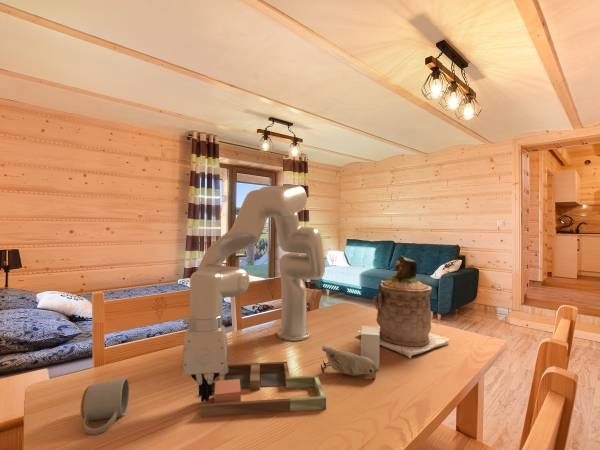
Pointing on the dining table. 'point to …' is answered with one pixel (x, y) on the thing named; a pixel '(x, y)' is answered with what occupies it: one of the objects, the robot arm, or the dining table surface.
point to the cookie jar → (405, 312)
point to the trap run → (269, 377)
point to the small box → (370, 343)
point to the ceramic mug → (104, 403)
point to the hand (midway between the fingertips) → (205, 397)
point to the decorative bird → (349, 362)
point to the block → (227, 391)
